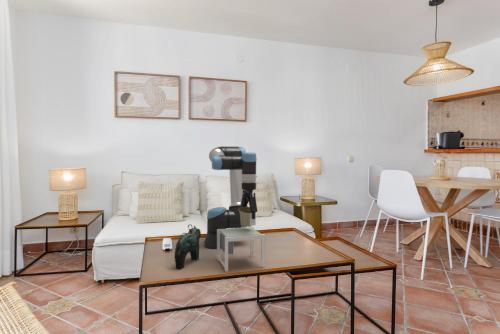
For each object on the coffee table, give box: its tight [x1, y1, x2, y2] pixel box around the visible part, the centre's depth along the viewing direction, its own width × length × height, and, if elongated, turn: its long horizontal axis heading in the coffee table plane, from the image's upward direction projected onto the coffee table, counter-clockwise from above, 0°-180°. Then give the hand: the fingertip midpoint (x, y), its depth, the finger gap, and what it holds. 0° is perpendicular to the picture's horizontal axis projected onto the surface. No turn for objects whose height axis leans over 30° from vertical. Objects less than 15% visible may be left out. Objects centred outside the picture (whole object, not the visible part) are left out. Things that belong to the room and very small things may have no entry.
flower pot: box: [239, 206, 252, 227], centre depth 167 cm, size 9×9×9 cm
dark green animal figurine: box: [174, 223, 202, 270], centre depth 164 cm, size 20×6×20 cm, turn 159°
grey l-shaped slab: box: [220, 228, 261, 255], centre depth 164 cm, size 18×14×9 cm
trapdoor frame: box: [216, 226, 266, 272], centre depth 164 cm, size 20×18×16 cm
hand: (248, 222), depth 165 cm, fingers open, 13 cm apart
